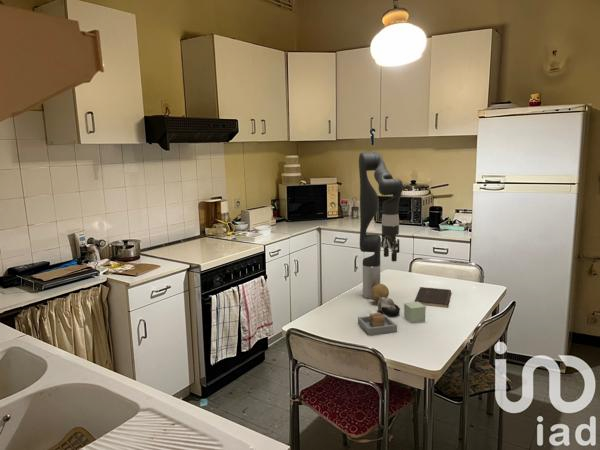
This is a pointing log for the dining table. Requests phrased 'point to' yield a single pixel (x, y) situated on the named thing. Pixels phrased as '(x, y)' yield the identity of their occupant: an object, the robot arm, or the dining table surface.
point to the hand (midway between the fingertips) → (390, 258)
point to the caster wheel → (388, 307)
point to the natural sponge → (379, 292)
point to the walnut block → (376, 319)
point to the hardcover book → (433, 297)
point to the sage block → (414, 312)
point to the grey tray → (370, 330)
